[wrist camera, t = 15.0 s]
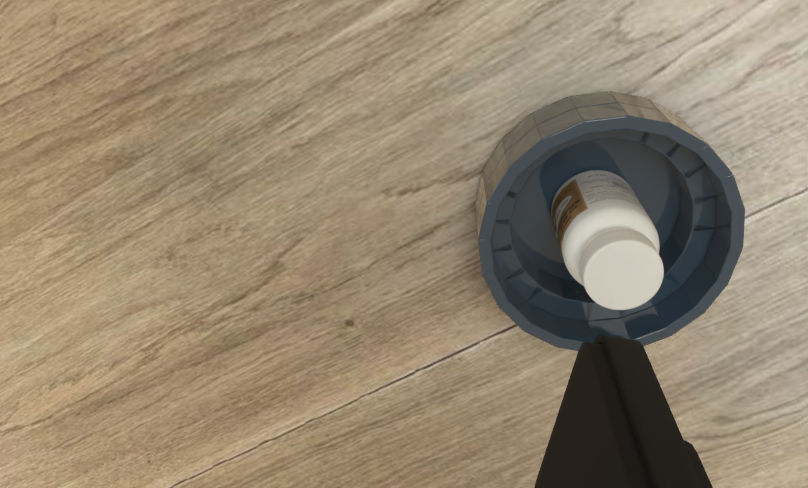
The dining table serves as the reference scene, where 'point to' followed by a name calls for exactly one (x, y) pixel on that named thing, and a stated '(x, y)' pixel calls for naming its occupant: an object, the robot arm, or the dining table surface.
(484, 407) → the dining table surface
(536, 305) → the bowl
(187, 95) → the dining table surface
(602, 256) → the pill bottle
